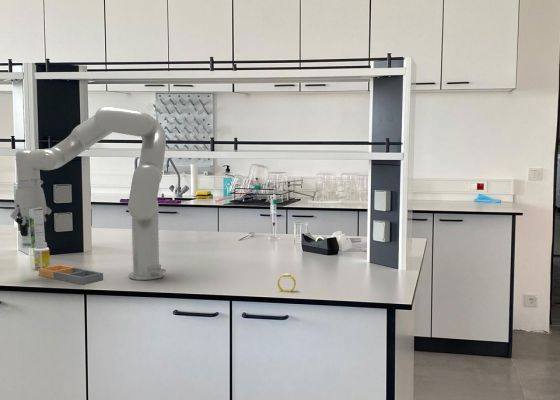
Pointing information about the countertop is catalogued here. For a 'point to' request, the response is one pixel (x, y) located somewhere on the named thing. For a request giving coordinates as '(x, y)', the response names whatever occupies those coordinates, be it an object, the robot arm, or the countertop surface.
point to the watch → (286, 276)
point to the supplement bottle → (42, 257)
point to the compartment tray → (71, 274)
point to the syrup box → (34, 229)
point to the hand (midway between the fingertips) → (33, 233)
